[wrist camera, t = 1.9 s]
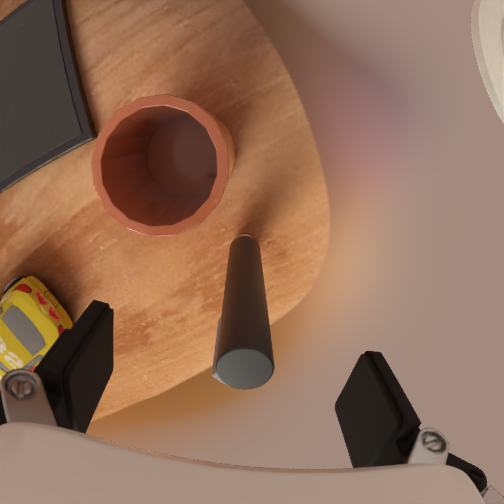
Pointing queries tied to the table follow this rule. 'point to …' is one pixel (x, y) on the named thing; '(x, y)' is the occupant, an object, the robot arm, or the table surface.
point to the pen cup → (162, 165)
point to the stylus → (244, 321)
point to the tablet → (39, 91)
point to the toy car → (28, 323)
